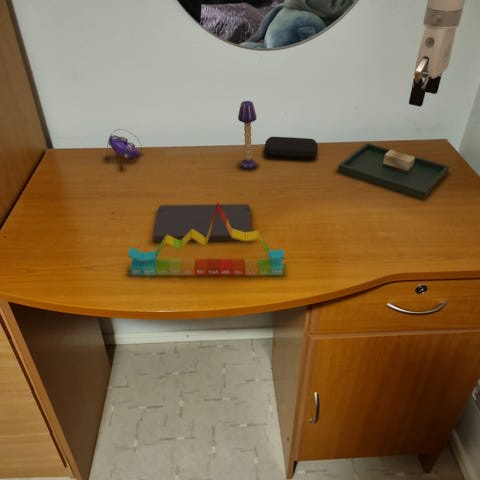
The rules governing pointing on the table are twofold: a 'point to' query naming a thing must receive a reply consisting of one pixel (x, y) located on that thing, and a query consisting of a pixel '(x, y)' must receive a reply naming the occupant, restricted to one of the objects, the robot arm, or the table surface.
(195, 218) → the notebook
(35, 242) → the table surface
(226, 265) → the chart
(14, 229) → the table surface
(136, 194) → the table surface
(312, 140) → the carrying case
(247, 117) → the toy lamp
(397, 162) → the wooden block
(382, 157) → the tray
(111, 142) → the purple ringed ornament
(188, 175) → the table surface
